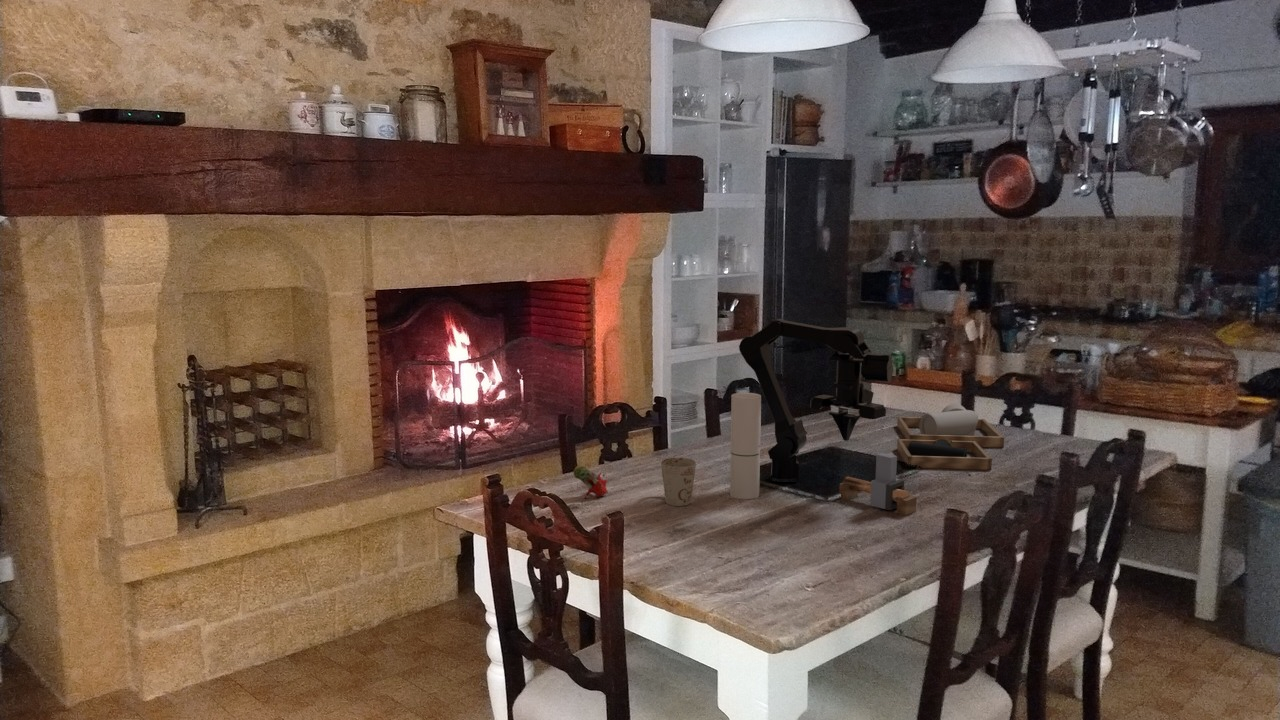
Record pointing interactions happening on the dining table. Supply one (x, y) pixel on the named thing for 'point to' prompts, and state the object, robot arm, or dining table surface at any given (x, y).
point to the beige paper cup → (678, 480)
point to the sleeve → (883, 478)
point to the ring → (889, 493)
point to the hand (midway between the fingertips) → (846, 440)
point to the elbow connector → (949, 422)
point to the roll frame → (983, 441)
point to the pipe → (866, 488)
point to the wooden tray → (976, 462)
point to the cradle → (903, 505)
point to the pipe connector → (936, 449)
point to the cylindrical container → (745, 445)
